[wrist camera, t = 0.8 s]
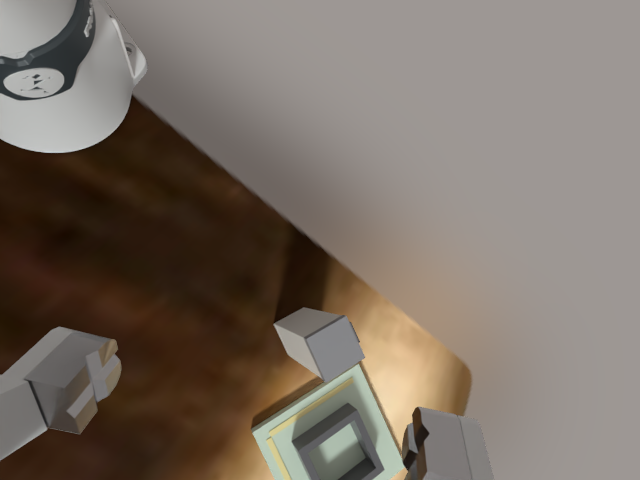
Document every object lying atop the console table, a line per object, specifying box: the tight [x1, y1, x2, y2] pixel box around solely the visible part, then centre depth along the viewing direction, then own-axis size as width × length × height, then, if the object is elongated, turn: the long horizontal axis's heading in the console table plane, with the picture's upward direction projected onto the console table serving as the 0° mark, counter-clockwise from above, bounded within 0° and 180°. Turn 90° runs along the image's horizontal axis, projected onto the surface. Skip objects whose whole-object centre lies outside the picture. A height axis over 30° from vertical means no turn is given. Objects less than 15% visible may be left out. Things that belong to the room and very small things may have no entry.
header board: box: [251, 363, 405, 480], centre depth 41 cm, size 14×14×4 cm
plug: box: [274, 307, 365, 383], centre depth 37 cm, size 4×5×12 cm
